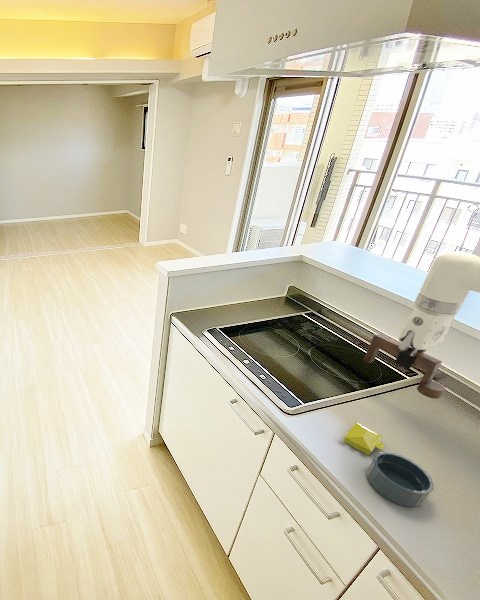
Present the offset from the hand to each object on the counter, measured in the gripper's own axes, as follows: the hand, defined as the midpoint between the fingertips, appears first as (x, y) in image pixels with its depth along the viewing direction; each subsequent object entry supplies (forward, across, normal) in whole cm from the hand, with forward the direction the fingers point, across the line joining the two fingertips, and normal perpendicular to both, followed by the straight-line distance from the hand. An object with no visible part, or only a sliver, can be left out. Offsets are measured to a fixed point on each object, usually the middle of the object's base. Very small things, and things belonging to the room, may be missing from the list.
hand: (406, 363), depth 87 cm
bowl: (+14, -26, -16) cm, 34 cm away
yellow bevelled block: (+14, -20, -7) cm, 25 cm away
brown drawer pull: (+5, 0, 0) cm, 5 cm away
